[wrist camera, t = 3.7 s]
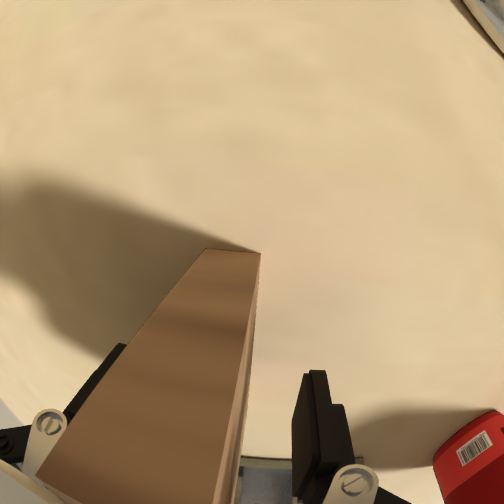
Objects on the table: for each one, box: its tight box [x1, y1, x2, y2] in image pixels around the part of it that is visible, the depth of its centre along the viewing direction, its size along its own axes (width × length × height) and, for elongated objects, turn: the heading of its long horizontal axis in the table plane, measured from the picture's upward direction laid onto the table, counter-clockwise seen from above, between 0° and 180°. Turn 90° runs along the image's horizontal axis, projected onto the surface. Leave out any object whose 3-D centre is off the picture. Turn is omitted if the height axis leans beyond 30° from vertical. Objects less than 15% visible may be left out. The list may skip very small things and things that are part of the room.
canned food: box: [433, 411, 504, 504], centre depth 9 cm, size 8×8×11 cm
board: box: [35, 249, 261, 504], centre depth 8 cm, size 9×2×10 cm, turn 176°
